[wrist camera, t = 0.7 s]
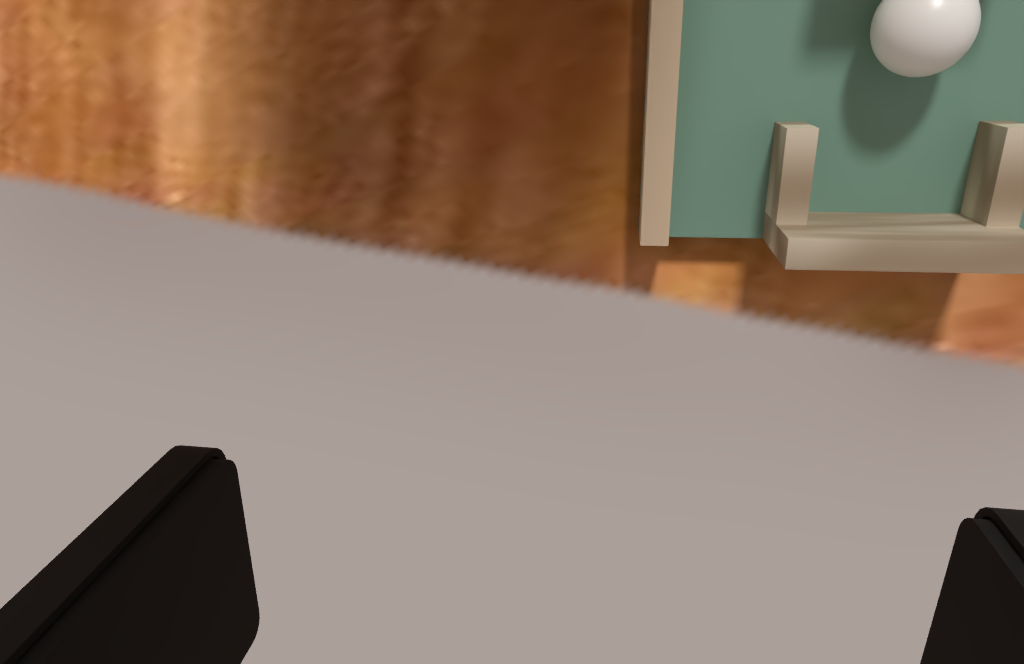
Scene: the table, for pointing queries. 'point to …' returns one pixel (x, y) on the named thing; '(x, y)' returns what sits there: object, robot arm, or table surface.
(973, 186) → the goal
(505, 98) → the table surface
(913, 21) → the ball
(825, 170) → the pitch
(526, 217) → the table surface
